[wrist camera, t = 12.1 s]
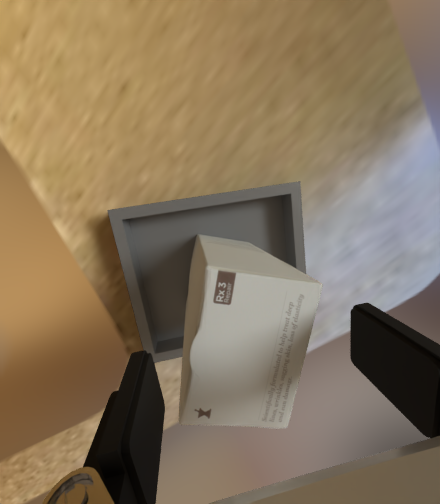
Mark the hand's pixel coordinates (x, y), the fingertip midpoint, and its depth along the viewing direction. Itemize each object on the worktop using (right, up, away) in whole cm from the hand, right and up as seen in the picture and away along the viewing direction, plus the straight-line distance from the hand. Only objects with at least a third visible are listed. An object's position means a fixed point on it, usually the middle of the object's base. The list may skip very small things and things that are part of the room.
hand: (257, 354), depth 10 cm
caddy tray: (-2, +3, +15) cm, 16 cm away
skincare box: (-2, +3, +15) cm, 15 cm away
